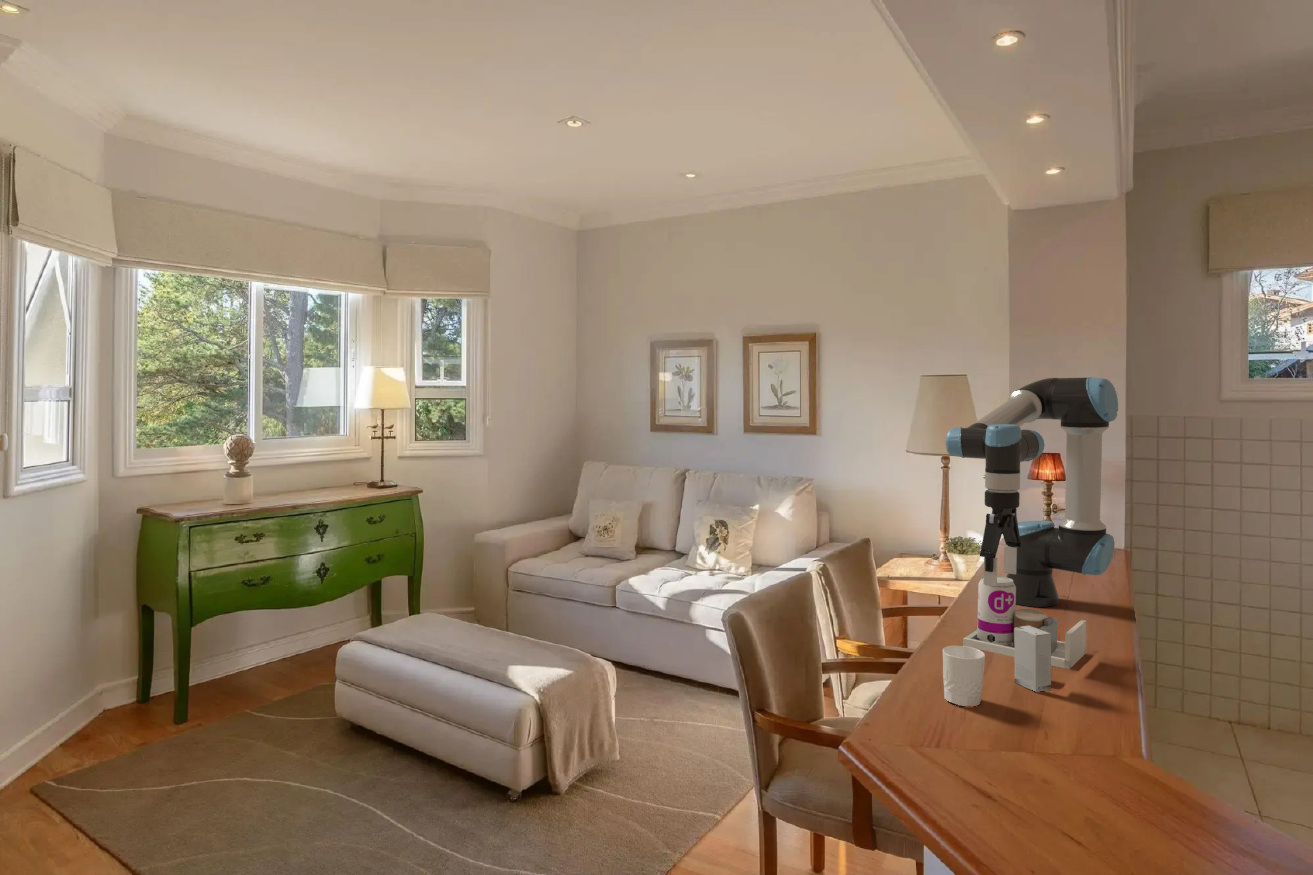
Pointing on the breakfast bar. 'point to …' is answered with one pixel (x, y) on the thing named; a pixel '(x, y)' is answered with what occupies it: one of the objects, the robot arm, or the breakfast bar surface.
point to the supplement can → (996, 611)
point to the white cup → (963, 675)
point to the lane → (1060, 657)
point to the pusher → (1051, 631)
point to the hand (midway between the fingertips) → (1000, 579)
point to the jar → (1028, 619)
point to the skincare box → (1032, 658)
